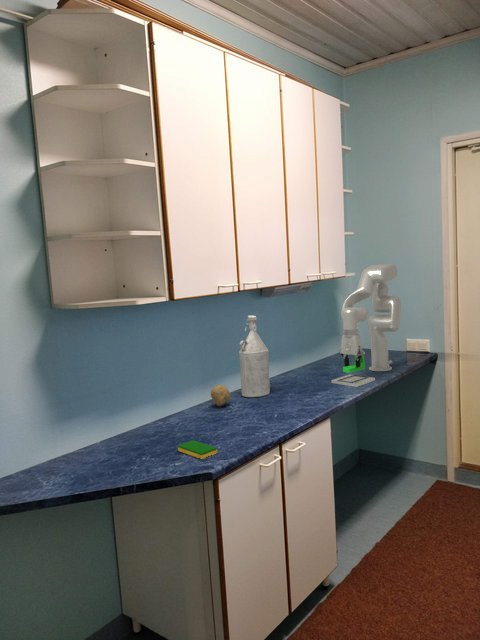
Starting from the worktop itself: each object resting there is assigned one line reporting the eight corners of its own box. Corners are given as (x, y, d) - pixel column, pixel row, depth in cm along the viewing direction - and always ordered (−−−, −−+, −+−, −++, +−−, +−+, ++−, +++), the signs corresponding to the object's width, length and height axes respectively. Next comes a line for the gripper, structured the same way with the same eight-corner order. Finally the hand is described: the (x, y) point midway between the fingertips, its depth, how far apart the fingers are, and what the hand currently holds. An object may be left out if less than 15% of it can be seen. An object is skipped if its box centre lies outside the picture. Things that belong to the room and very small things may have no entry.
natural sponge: (224, 402, 244) (223, 381, 243) (234, 405, 236) (233, 384, 236) (208, 406, 239) (206, 385, 238) (218, 409, 232) (216, 388, 231)
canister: (234, 396, 253) (229, 317, 249) (257, 389, 266) (252, 313, 262) (254, 400, 244) (248, 318, 240) (276, 391, 257) (271, 314, 253)
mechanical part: (356, 367, 272) (355, 353, 272) (364, 369, 268) (364, 354, 267) (340, 371, 265) (340, 356, 265) (349, 372, 261) (349, 357, 260)
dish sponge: (193, 446, 186) (192, 439, 186) (217, 454, 176) (217, 447, 176) (177, 451, 182) (177, 445, 181) (201, 460, 172) (201, 453, 171)
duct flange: (349, 377, 278) (349, 373, 278) (375, 380, 266) (374, 377, 266) (331, 382, 268) (331, 379, 268) (356, 386, 256) (356, 383, 256)
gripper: (333, 332, 268) (334, 366, 270) (360, 334, 256) (362, 369, 257) (341, 331, 273) (343, 364, 275) (369, 332, 260) (370, 367, 262)
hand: (352, 366), depth 266 cm, fingers closed on mechanical part, 6 cm apart
